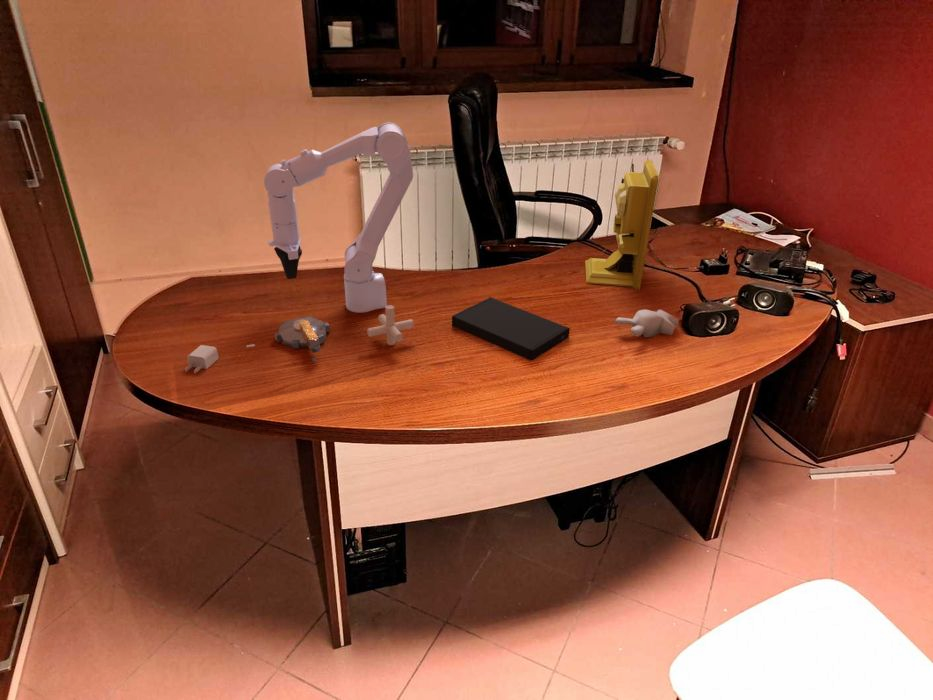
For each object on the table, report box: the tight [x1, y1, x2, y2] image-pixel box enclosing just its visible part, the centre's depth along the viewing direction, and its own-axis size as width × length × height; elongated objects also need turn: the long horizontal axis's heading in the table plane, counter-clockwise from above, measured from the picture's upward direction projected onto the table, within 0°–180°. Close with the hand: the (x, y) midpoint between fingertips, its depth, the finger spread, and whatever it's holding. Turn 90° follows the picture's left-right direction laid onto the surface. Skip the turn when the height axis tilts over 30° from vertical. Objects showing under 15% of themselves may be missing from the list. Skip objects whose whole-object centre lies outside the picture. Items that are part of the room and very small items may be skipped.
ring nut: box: [274, 316, 331, 354], centre depth 139 cm, size 17×12×4 cm
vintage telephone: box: [584, 158, 659, 291], centre depth 173 cm, size 31×14×30 cm, turn 172°
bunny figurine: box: [614, 309, 679, 338], centre depth 149 cm, size 10×5×15 cm
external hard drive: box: [451, 296, 571, 362], centre depth 149 cm, size 14×23×3 cm, turn 49°
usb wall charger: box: [184, 344, 220, 374], centre depth 131 cm, size 4×7×4 cm, turn 167°
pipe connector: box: [366, 304, 415, 346], centre depth 139 cm, size 10×10×10 cm
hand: (291, 277), depth 150 cm, fingers closed
